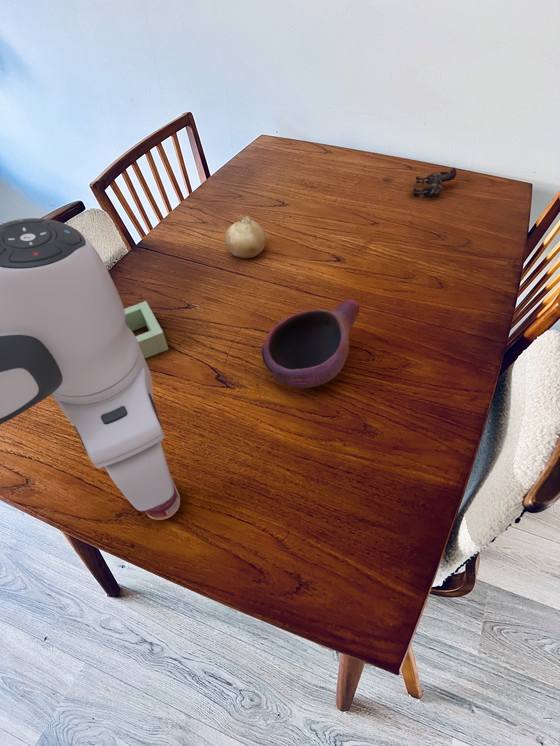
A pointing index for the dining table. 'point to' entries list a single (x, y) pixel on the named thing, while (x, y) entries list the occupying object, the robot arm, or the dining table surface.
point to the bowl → (310, 345)
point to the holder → (142, 317)
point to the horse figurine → (434, 183)
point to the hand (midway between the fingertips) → (141, 456)
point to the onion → (245, 238)
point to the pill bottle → (165, 507)
